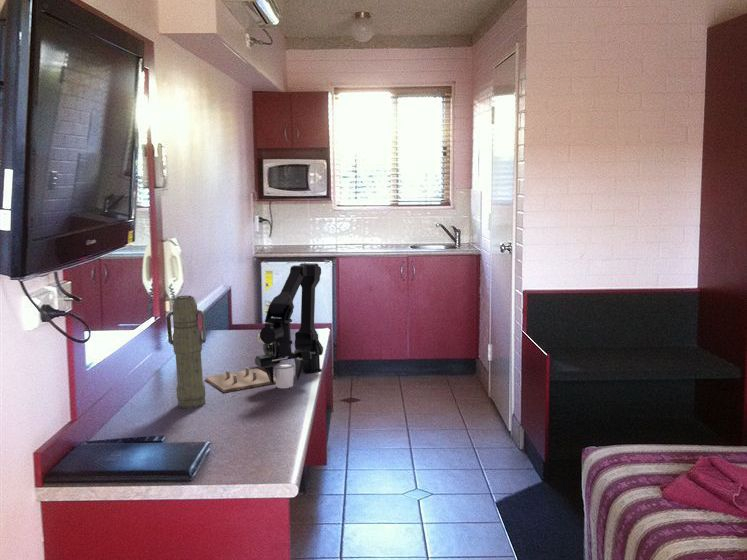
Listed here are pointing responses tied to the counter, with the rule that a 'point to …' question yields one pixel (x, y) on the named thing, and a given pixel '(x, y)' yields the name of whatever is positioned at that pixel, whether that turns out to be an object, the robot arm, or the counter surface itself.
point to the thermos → (187, 351)
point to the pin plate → (239, 380)
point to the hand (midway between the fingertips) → (284, 382)
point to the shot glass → (284, 375)
